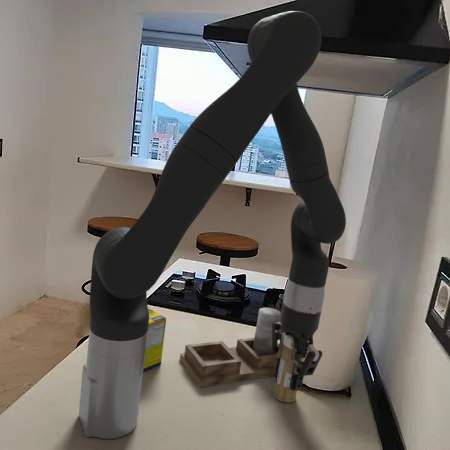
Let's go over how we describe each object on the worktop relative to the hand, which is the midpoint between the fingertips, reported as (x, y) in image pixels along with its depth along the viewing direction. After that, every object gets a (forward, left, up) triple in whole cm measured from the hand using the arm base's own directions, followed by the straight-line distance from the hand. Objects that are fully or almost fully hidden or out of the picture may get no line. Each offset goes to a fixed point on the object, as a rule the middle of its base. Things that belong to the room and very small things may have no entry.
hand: (287, 382), depth 93 cm
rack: (-4, +13, -3) cm, 14 cm away
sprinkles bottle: (0, 0, -3) cm, 3 cm away
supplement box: (-24, +19, -4) cm, 31 cm away
